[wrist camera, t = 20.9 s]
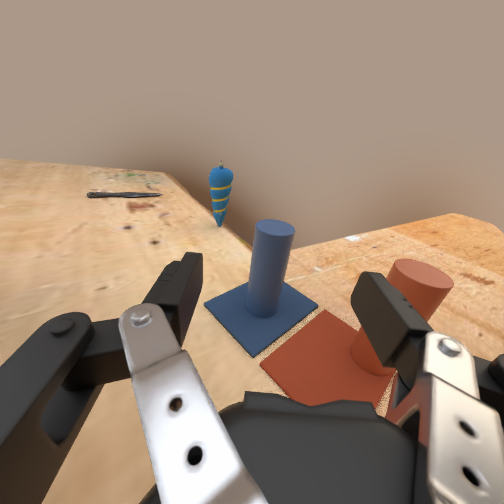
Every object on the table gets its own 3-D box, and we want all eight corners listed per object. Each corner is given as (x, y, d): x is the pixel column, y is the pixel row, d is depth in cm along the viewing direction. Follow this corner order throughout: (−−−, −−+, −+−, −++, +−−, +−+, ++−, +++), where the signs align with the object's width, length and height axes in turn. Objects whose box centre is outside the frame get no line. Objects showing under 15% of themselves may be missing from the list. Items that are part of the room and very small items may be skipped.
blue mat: (203, 305, 30) (203, 302, 29) (268, 273, 38) (269, 271, 38) (253, 358, 24) (253, 355, 23) (318, 307, 32) (318, 305, 32)
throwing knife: (88, 193, 62) (88, 191, 62) (163, 193, 70) (163, 191, 70) (85, 198, 59) (85, 196, 58) (164, 197, 66) (164, 195, 66)
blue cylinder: (239, 303, 30) (247, 223, 24) (261, 291, 33) (274, 216, 27) (261, 323, 27) (276, 239, 21) (283, 308, 30) (303, 229, 24)
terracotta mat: (259, 365, 23) (260, 362, 23) (324, 311, 31) (324, 309, 31) (347, 460, 17) (349, 458, 17) (399, 362, 25) (400, 360, 25)
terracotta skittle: (343, 354, 25) (387, 267, 19) (359, 334, 28) (402, 253, 22) (383, 385, 22) (449, 295, 16) (397, 360, 25) (457, 275, 19)
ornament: (231, 223, 55) (235, 159, 47) (229, 231, 50) (233, 163, 43) (210, 221, 55) (211, 157, 47) (206, 229, 50) (206, 160, 43)
